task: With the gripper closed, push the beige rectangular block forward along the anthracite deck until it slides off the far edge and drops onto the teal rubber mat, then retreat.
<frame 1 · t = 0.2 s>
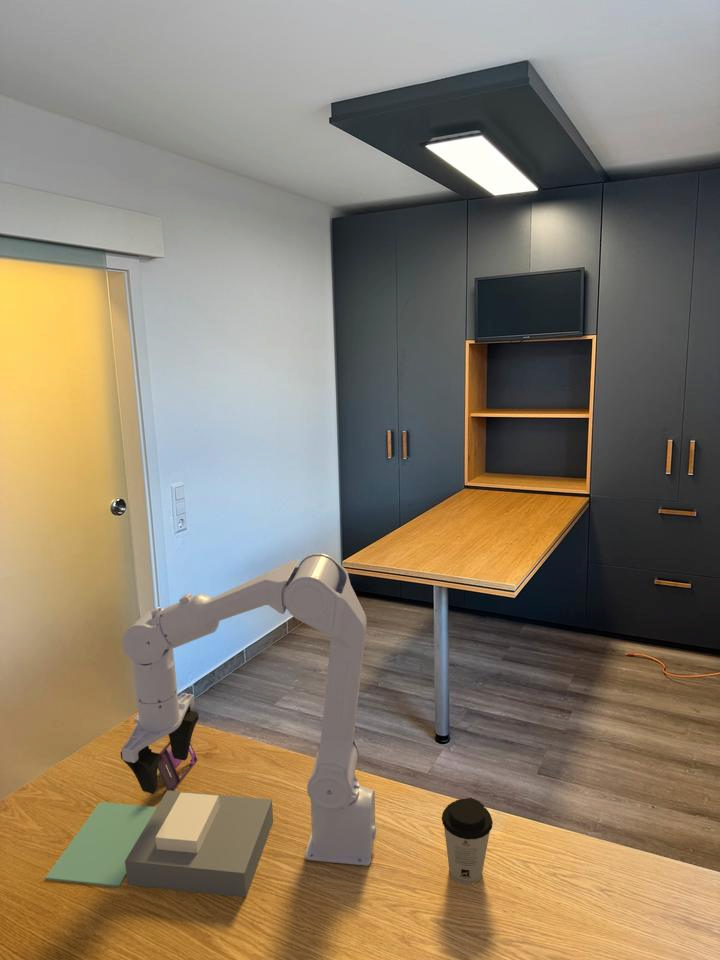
hand: (165, 774, 99), 10 cm above the table, fingers open, 7 cm apart
game card: (172, 776, 114), on the table
beige rectangular block: (189, 827, 97), point 4 cm above the table, touching deck
deck: (204, 851, 98), on the table
coffee cup: (465, 872, 93), on the table
mat: (108, 841, 100), on the table
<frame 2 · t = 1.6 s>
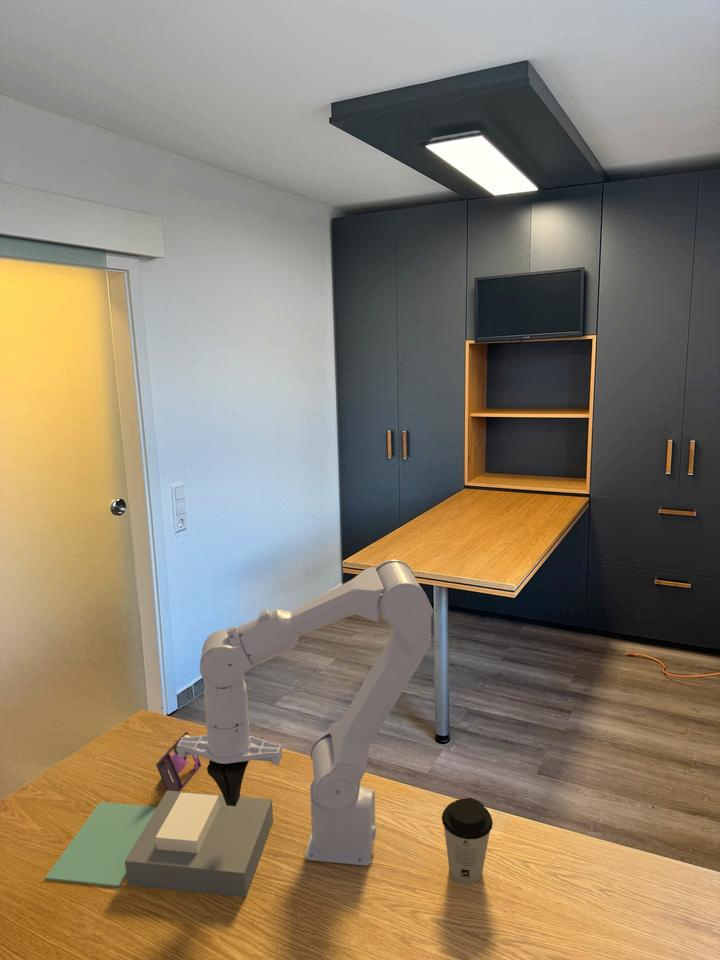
hand: (233, 801, 95), 9 cm above the table, fingers closed
game card: (175, 781, 113), on the table
everything else where it was.
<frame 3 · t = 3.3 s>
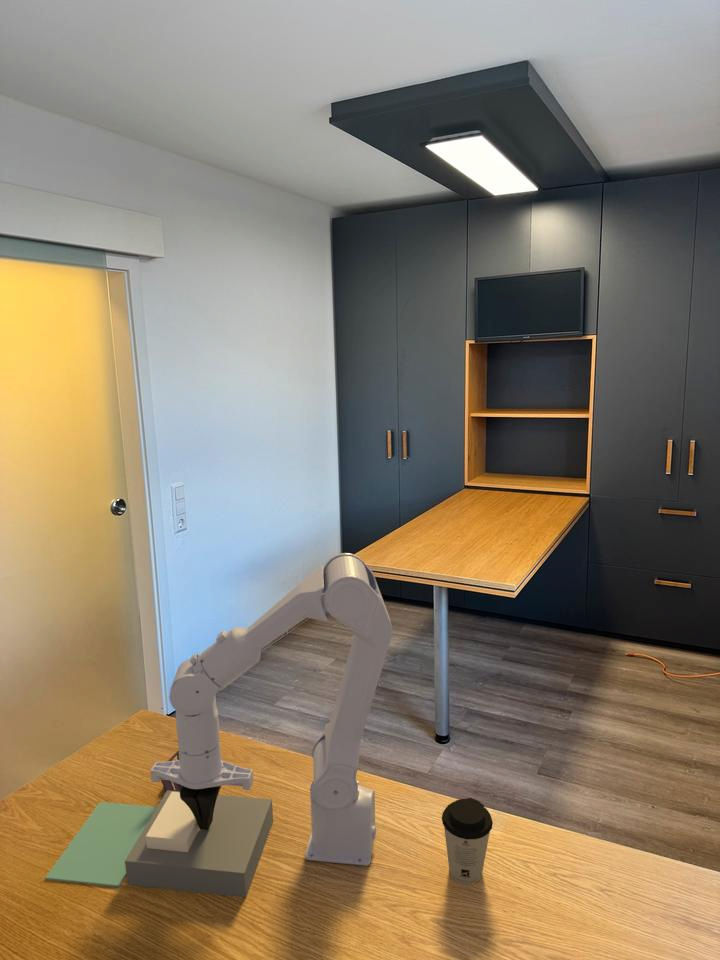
hand: (206, 824, 96), 5 cm above the table, fingers closed
game card: (178, 788, 111), on the table
beige rectangular block: (180, 826, 97), point 4 cm above the table, touching deck, gripper
everything else where it was.
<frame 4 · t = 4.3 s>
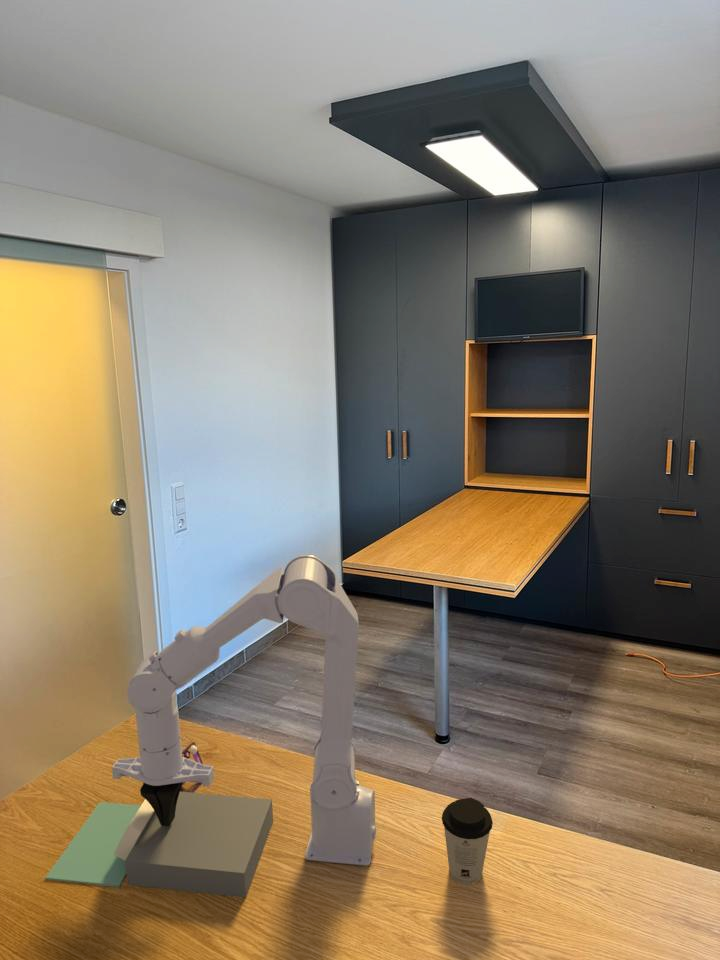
hand: (167, 821, 97), 5 cm above the table, fingers closed
game card: (180, 792, 110), on the table
beige rectangular block: (147, 822, 98), point 4 cm above the table, tilted 61°
everything else where it was.
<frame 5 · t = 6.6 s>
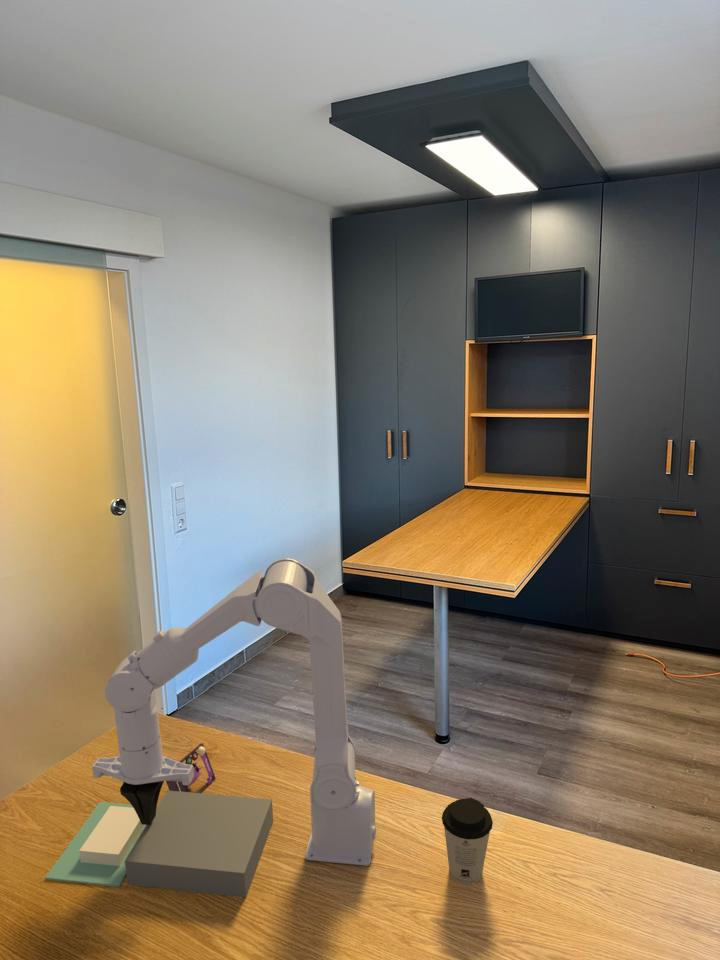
hand: (148, 819, 98), 5 cm above the table, fingers closed
game card: (187, 792, 110), on the table
beige rectangular block: (114, 829, 99), point 2 cm above the table, tilted 180°, touching mat
everything else where it was.
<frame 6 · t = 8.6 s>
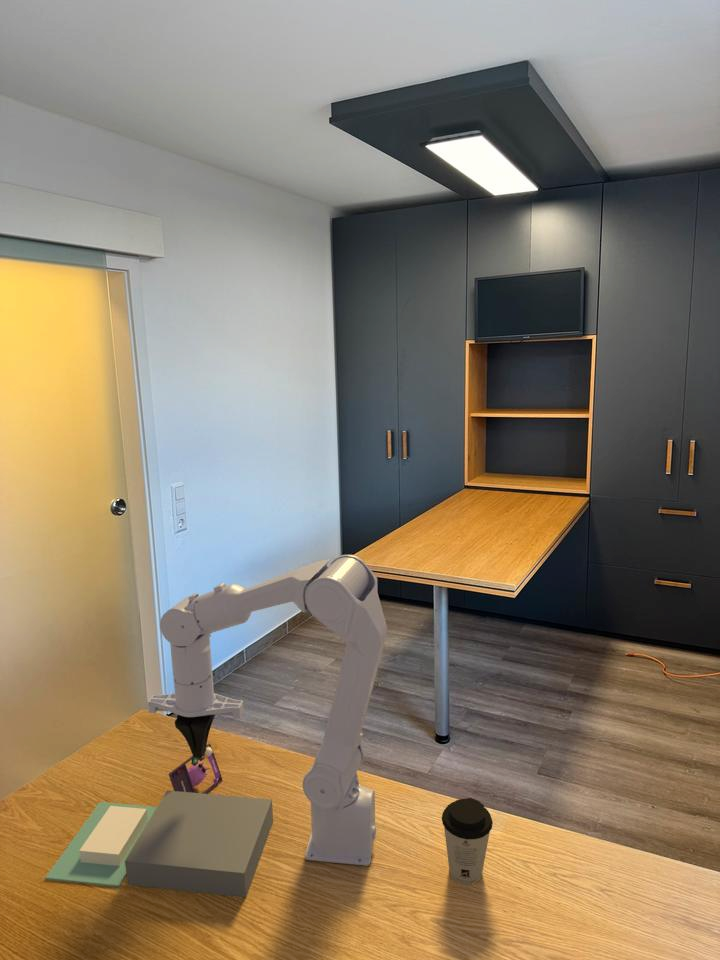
hand: (199, 753, 103), 10 cm above the table, fingers closed
game card: (193, 793, 110), on the table
everything else where it was.
at the end: beige rectangular block point 2.3 cm above the table; beige rectangular block inside the target area on the mat (1.0 cm from its centre), point 2.3 cm above the mat's base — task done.
